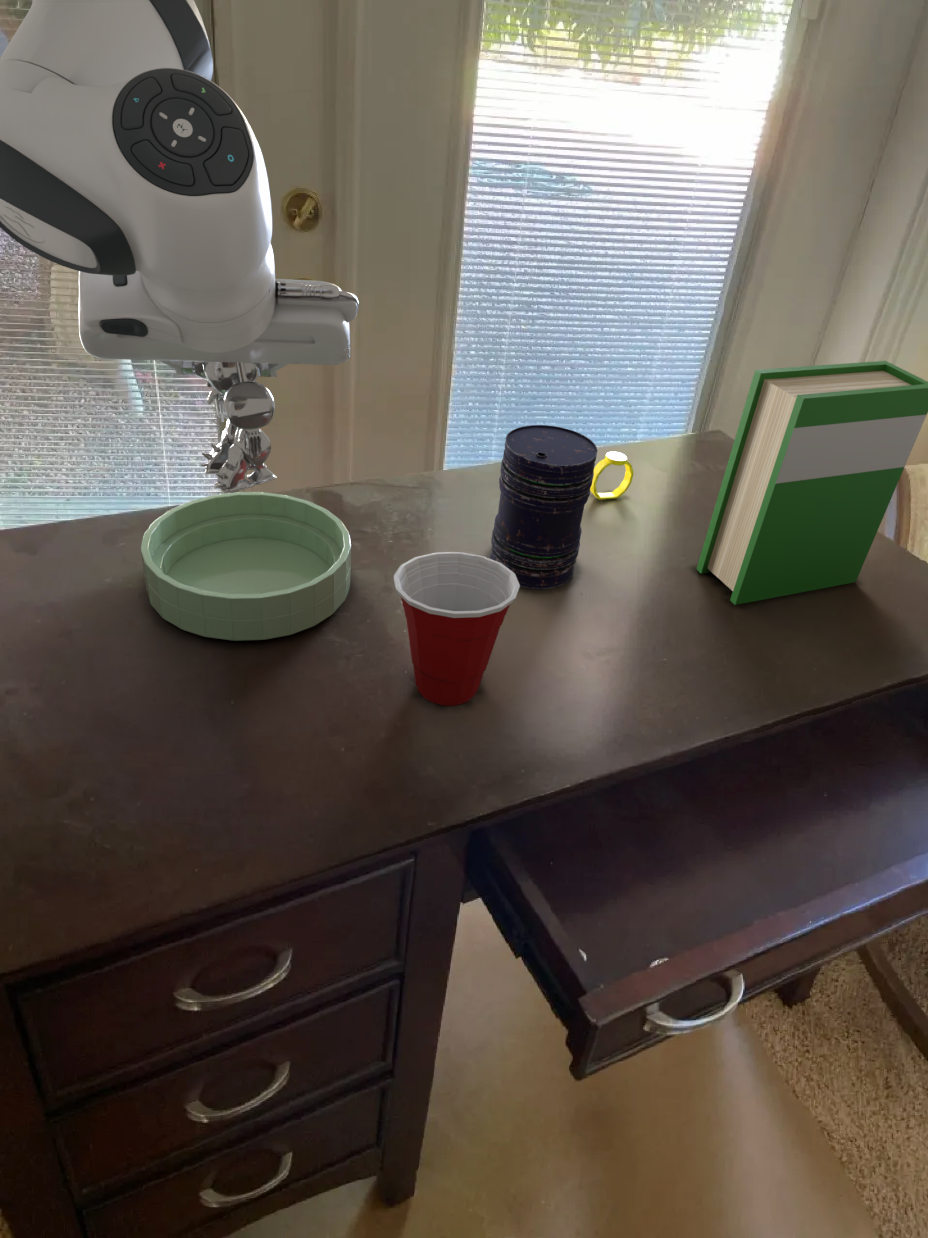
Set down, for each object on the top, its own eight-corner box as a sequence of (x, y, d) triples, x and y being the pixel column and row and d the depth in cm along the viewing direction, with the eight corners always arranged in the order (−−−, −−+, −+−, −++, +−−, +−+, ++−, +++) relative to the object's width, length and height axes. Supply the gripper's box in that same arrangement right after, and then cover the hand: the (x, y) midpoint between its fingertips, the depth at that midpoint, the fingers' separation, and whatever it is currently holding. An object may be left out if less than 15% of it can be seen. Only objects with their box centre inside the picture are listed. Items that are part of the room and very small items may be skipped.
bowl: (136, 649, 82) (128, 600, 79) (158, 535, 99) (153, 491, 95) (356, 642, 86) (357, 595, 83) (343, 534, 102) (344, 491, 99)
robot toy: (180, 441, 84) (155, 276, 76) (244, 430, 87) (227, 270, 78) (226, 508, 74) (203, 327, 65) (297, 494, 76) (284, 318, 68)
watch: (593, 505, 114) (601, 463, 110) (581, 495, 116) (589, 453, 112) (631, 499, 116) (641, 457, 113) (619, 489, 118) (628, 448, 115)
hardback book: (735, 604, 98) (803, 398, 84) (696, 569, 103) (755, 369, 89) (855, 582, 104) (938, 386, 90) (813, 549, 110) (885, 360, 96)
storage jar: (508, 534, 106) (525, 416, 97) (586, 558, 103) (610, 439, 94) (474, 572, 98) (489, 449, 90) (556, 600, 96) (580, 475, 87)
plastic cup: (479, 641, 88) (492, 537, 81) (522, 712, 80) (540, 604, 73) (373, 657, 85) (378, 550, 78) (407, 733, 77) (415, 622, 70)
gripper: (358, 249, 64) (348, 336, 78) (58, 233, 61) (102, 328, 74) (362, 331, 63) (351, 405, 77) (57, 320, 60) (101, 400, 73)
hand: (226, 367), depth 75 cm, fingers closed on robot toy, 5 cm apart
